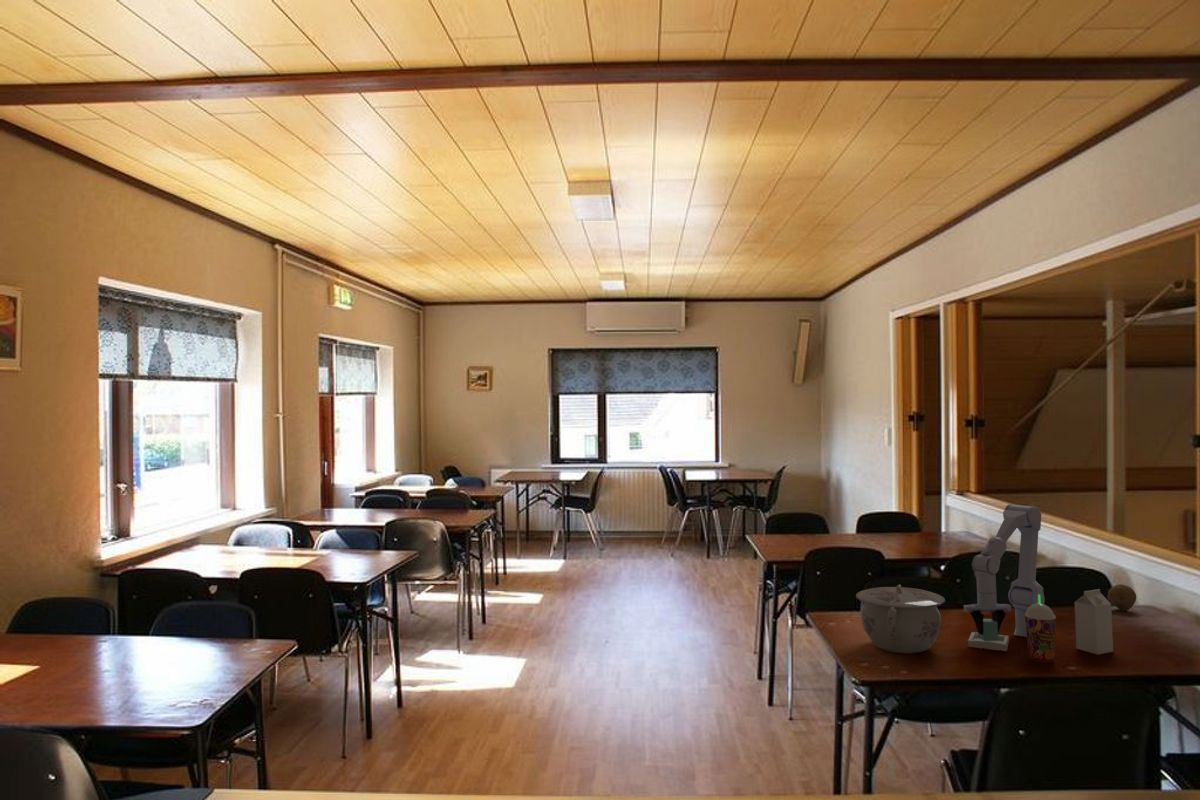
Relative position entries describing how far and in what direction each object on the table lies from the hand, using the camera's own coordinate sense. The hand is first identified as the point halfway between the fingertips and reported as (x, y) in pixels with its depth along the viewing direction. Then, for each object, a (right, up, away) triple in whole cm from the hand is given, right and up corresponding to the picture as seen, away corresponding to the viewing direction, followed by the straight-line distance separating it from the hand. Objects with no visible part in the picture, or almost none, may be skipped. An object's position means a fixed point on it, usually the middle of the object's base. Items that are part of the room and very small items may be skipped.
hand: (988, 633), depth 253 cm
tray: (0, -4, 0) cm, 4 cm away
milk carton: (+29, -3, -10) cm, 31 cm away
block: (0, -2, 0) cm, 2 cm away
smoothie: (+8, -3, -18) cm, 19 cm away
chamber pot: (-29, -5, -1) cm, 29 cm away
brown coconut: (+69, -3, +36) cm, 78 cm away
